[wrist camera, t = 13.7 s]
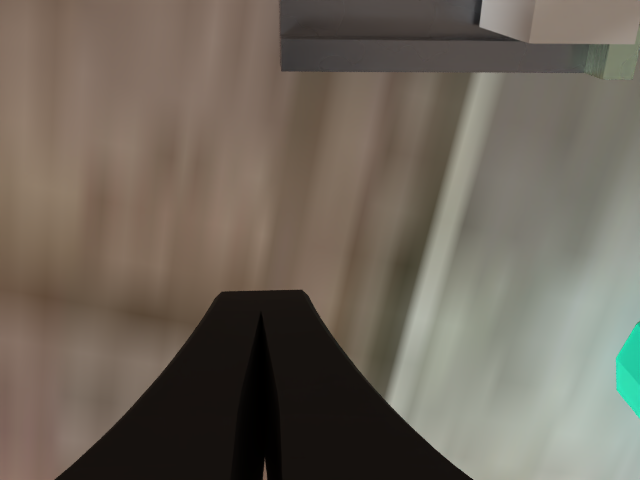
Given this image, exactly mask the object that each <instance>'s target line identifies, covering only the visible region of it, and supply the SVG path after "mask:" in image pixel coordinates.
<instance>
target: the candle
mask: <svg viewBox="0 0 640 480" xmlns="http://www.w3.org/2000/svg"><path fill="white" fill-rule="evenodd" d="M616 382H617V391H618V392H619V394H620V395H621V396H622V397H623V399H624V400H625V401H626V402H627V403H628V405H629V406H630V407H631V408H632V410H633V411H634V412H635V413H636V415H637V416H638V417H639V418H640V322H639V323H638V324H636V326H635V328H634V329H633V331H632V333H631V334H630V336H629V338H628V339H627V341H626V343H625V344H624V346H623V348H622V349H621V351H620V353H619V354H618V356H617V358H616Z"/></svg>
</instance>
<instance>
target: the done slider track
mask: <svg viewBox="0 0 640 480" xmlns="http://www.w3.org/2000/svg"><path fill="white" fill-rule="evenodd" d="M481 8H482V0H280V65H281V71H322V72H523V73H586V74H589V75H591V76H594V77H597V78H600V79H602V80H632V79H633V75H634V70H635V66H636V62H637V57H638V53H639V49H640V23H639V27H638V32H637V36H636V41H635V44H535V43H526V42H523V41H520V40H517V39H514V38H511V37H508V36H505V35H502V34H499V33H496V32H493V31H490V30H487V29H484V28H481V27H479V25H480V16H481Z"/></svg>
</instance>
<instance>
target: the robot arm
mask: <svg viewBox="0 0 640 480" xmlns="http://www.w3.org/2000/svg"><path fill="white" fill-rule="evenodd" d="M264 461H265V462H266V471H267V480H473V479H472V478H470V477H469V476H468V475H466V474H465V473H464V472H462V471H461V470H460V469H458V468H457V467H456V466H455V465H453V464H452V463H451V462H450V461H449V460H447V459H446V458H445V457H444V456H443V455H441V454H440V453H439V452H438V451H437V450H436V449H434V448H433V447H432V446H431V445H430V444H429V443H428V442H427V441H426V440H425V439H424V438H422V437H421V436H420V435H419V434H418V433H417V432H416V431H415V430H414V429H413V428H412V427H411V426H410V425H409V424H408V423H407V422H406V421H405V420H404V419H403V418H401V417H400V415H399V414H398V413H397V412H396V411H395V410H394V409H393V408H392V407H391V406H390V405H389V404H388V403H387V402H386V401H385V400H384V399H383V398H382V396H381V395H380V394H379V393H378V392H377V391H376V390H375V389H374V388H373V386H372V385H371V384H370V383H369V382H368V381H367V380H366V378H365V377H364V376H363V375H362V374H361V372H360V371H359V370H358V369H357V368H356V366H355V365H354V364H353V362H352V361H351V360H350V359H349V357H348V356H347V355H346V353H345V352H344V351H343V349H342V348H341V347H340V346H339V344H338V343H337V341H336V340H335V339H334V337H333V336H332V334H331V333H330V331H329V330H328V328H327V327H326V325H325V324H324V322H323V321H322V319H321V318H320V316H319V315H318V313H317V311H316V309H315V308H314V306H313V304H312V302H311V300H310V298H309V296H308V295H307V294H306V293H305V292H304V291H303V290H270V291H229V292H221V293H220V294H219V295H218V296H217V297H216V298H215V299H214V301H213V303H212V304H211V306H210V308H209V309H208V311H207V312H206V314H205V315H204V317H203V319H202V320H201V322H200V323H199V324H198V326H197V327H196V329H195V330H194V332H193V333H192V334H191V336H190V337H189V339H188V340H187V341H186V343H185V344H184V345H183V346H182V348H181V349H180V350H179V352H178V353H177V354H176V356H175V357H174V358H173V359H172V361H171V362H170V363H169V365H168V366H167V367H166V368H165V370H164V371H163V372H162V373H161V374H160V376H159V377H158V378H157V379H156V380H155V381H154V382H153V384H152V385H151V386H150V387H149V388H148V389H147V390H146V391H145V393H144V394H143V395H142V396H141V397H140V398H139V399H138V400H137V402H136V403H135V404H134V405H133V406H132V407H131V408H130V409H129V410H128V411H127V413H126V414H125V415H124V416H123V417H122V418H121V419H120V420H119V421H118V422H117V423H116V424H115V425H114V426H113V427H112V428H111V429H110V430H109V431H108V432H107V433H106V434H105V435H104V436H103V437H102V438H101V439H100V440H99V441H97V442H96V443H95V444H94V445H93V446H92V447H91V448H90V449H89V450H88V451H87V452H86V453H85V454H84V455H82V456H81V457H80V458H79V459H78V460H77V461H76V462H75V463H74V464H73V465H71V466H70V467H69V468H68V469H67V470H66V471H64V472H63V473H62V474H61V475H60V476H58V477H57V478H56V479H55V480H263V471H264Z"/></svg>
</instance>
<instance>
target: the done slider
mask: <svg viewBox="0 0 640 480" xmlns="http://www.w3.org/2000/svg"><path fill="white" fill-rule="evenodd" d="M639 23H640V0H482V8H481V16H480V25H479V27H481V28H484V29H487V30H490V31H493V32H496V33H499V34H502V35H505V36H508V37H511V38H514V39H517V40H520V41H523V42H526V43H535V44H635V41H636V36H637V32H638V27H639Z"/></svg>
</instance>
